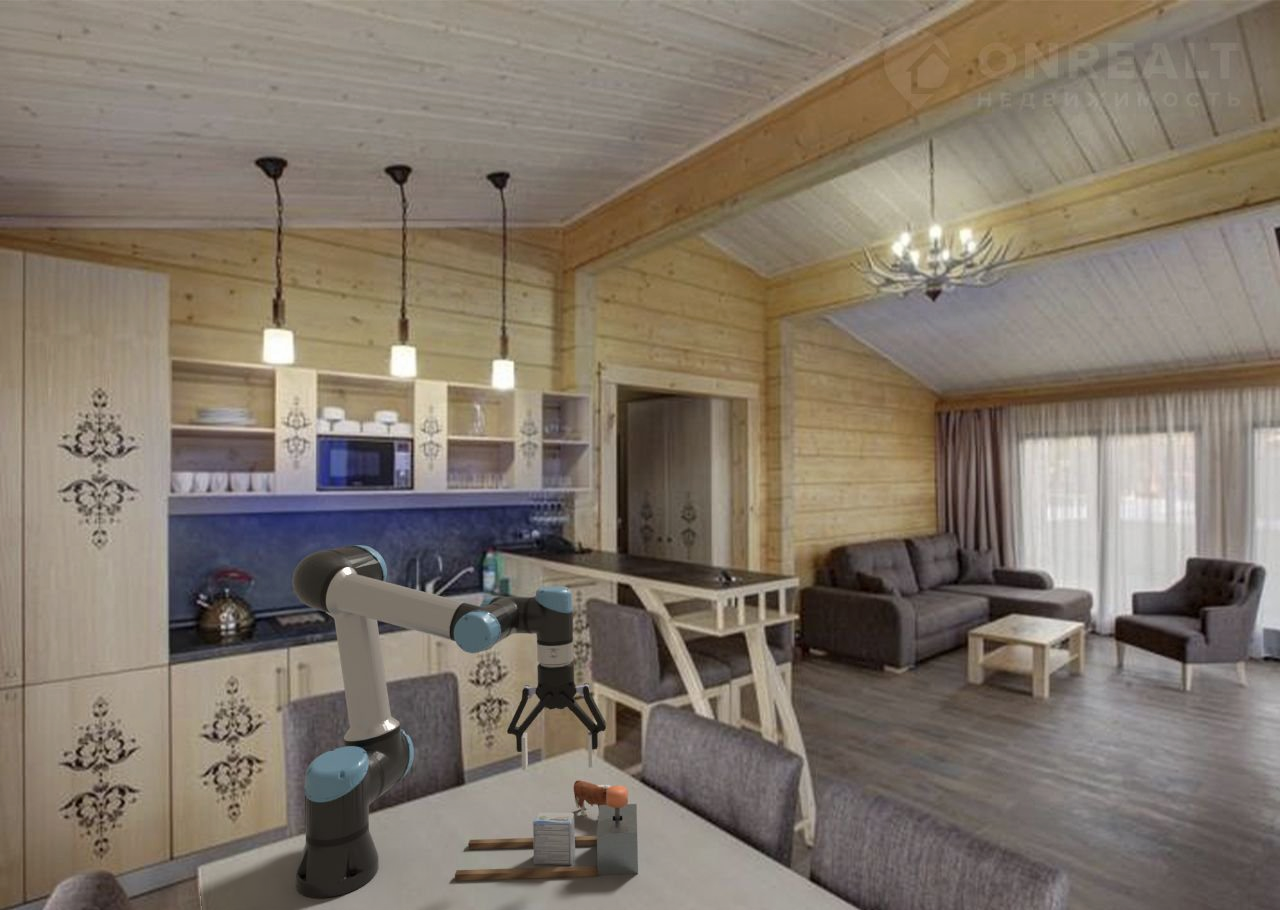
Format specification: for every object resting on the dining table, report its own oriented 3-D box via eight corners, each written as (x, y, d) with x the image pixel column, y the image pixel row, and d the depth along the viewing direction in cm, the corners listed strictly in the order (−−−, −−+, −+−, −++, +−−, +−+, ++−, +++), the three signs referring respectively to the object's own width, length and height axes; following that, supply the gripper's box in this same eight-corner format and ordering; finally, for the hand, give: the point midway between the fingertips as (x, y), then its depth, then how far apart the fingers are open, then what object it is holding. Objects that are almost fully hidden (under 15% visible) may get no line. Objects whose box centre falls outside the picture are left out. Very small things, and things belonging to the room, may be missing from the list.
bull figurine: (614, 829, 156) (613, 792, 156) (570, 812, 164) (569, 777, 164) (626, 821, 159) (625, 785, 160) (582, 805, 168) (581, 770, 168)
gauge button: (606, 827, 142) (605, 795, 142) (607, 817, 147) (606, 785, 147) (628, 827, 142) (627, 794, 142) (628, 816, 147) (627, 785, 147)
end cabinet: (597, 874, 138) (596, 833, 138) (600, 842, 150) (599, 805, 150) (638, 873, 138) (637, 832, 139) (637, 841, 150) (636, 803, 151)
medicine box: (575, 854, 146) (574, 812, 146) (571, 866, 142) (570, 822, 142) (538, 853, 147) (537, 811, 147) (533, 865, 142) (532, 822, 142)
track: (454, 880, 137) (454, 874, 137) (469, 845, 150) (469, 839, 150) (597, 876, 138) (597, 870, 138) (600, 841, 151) (600, 835, 151)
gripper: (491, 669, 141) (493, 775, 141) (615, 665, 142) (617, 771, 141) (498, 659, 149) (500, 760, 148) (616, 655, 149) (618, 756, 148)
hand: (557, 766), depth 145 cm, fingers open, 13 cm apart
